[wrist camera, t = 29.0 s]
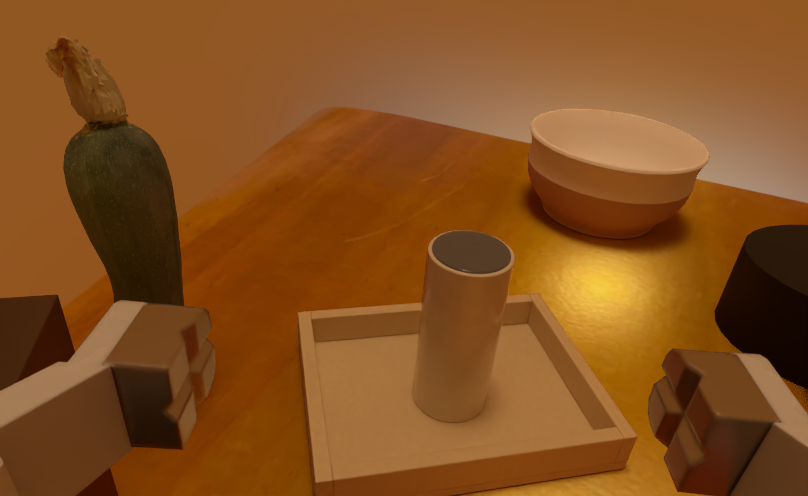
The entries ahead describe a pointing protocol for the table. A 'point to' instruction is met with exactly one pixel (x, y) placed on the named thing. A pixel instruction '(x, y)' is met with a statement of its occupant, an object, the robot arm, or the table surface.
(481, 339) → the cylinder
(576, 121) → the bowl
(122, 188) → the vegetable
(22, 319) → the pedestal
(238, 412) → the table surface
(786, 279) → the black flat-topped cap
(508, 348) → the tray
